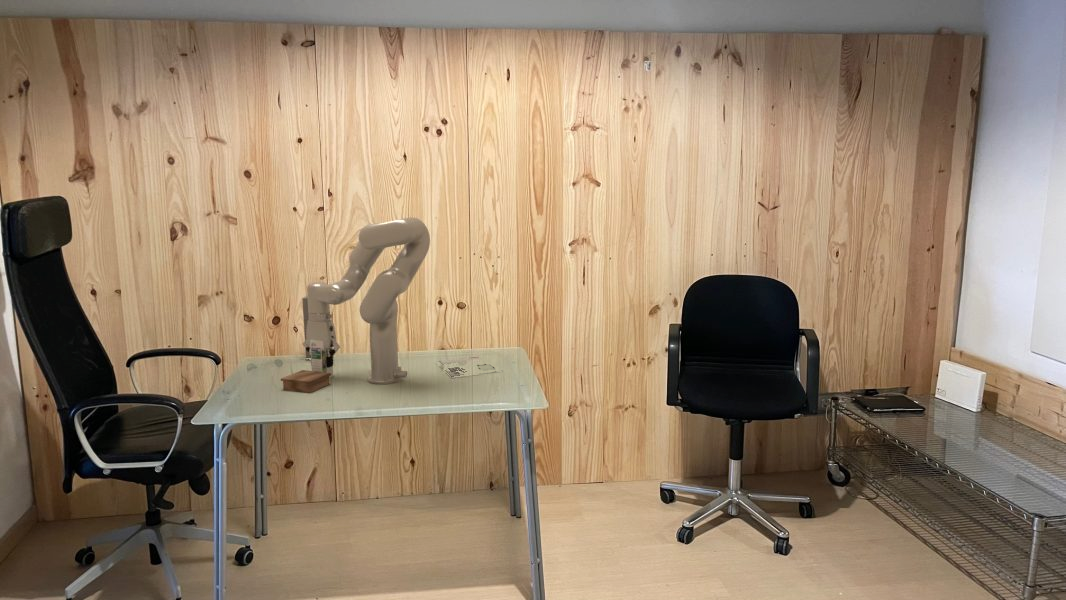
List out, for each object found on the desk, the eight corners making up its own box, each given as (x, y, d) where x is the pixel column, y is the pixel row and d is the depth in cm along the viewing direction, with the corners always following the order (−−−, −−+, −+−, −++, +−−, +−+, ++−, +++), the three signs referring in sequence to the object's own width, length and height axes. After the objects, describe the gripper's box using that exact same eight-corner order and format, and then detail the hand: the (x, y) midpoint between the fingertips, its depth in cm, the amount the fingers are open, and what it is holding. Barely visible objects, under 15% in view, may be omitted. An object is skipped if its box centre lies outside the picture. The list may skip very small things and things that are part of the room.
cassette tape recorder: (321, 360, 306) (317, 298, 302) (305, 360, 306) (301, 298, 302) (329, 352, 320) (326, 292, 315) (315, 352, 320) (311, 292, 315)
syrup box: (311, 379, 278) (309, 339, 276) (320, 375, 284) (318, 336, 281) (325, 380, 276) (323, 340, 274) (334, 376, 282) (332, 337, 280)
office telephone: (434, 358, 299) (484, 353, 306) (435, 365, 299) (484, 360, 307) (451, 372, 278) (503, 366, 285) (451, 379, 278) (503, 373, 285)
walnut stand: (331, 383, 272) (331, 372, 271) (310, 393, 261) (309, 381, 260) (303, 380, 276) (302, 370, 275) (281, 389, 265) (280, 378, 264)
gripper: (346, 316, 277) (348, 365, 280) (306, 313, 283) (308, 361, 286) (333, 320, 270) (336, 370, 273) (292, 317, 276) (295, 366, 279)
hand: (322, 365), depth 279 cm, fingers closed on syrup box, 5 cm apart
